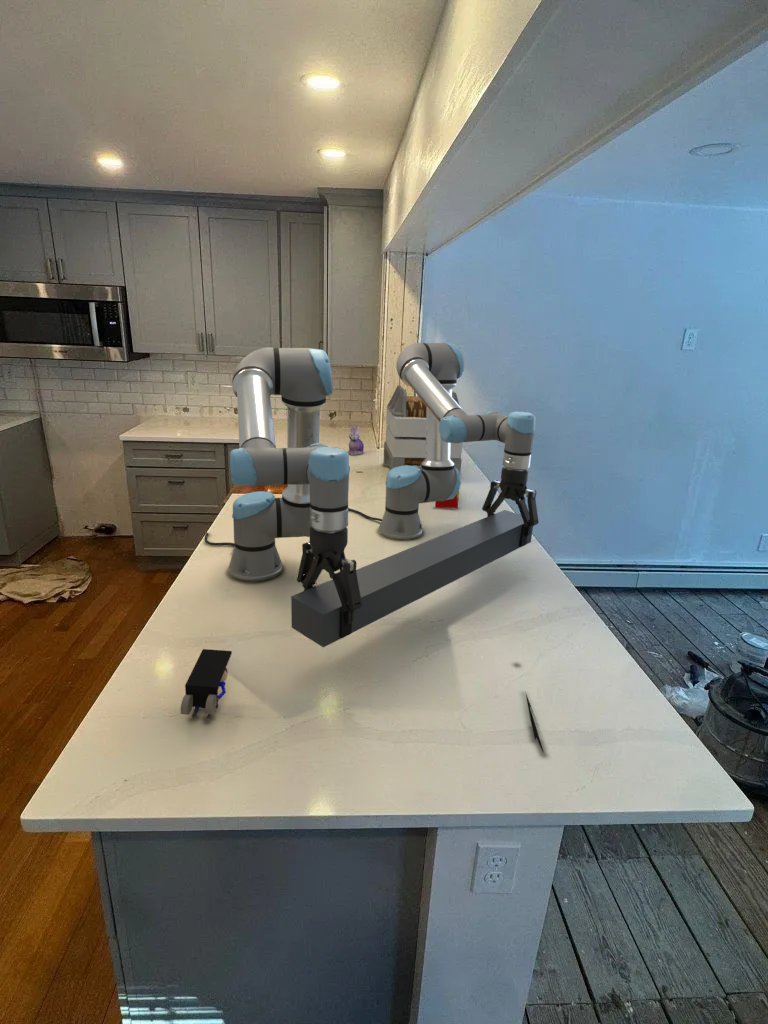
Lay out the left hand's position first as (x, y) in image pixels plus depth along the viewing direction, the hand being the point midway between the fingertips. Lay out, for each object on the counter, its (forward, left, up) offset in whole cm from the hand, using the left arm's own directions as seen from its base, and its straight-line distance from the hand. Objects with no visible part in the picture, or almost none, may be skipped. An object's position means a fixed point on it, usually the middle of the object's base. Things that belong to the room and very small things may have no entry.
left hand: (327, 624), depth 119 cm
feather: (+28, +32, -12) cm, 44 cm away
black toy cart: (-1, -25, -12) cm, 28 cm away
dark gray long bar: (-11, +33, -1) cm, 35 cm away
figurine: (-173, +91, -12) cm, 195 cm away
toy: (-91, +92, -12) cm, 130 cm away
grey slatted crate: (-127, +103, -12) cm, 164 cm away
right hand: (-22, +67, 0) cm, 70 cm away
